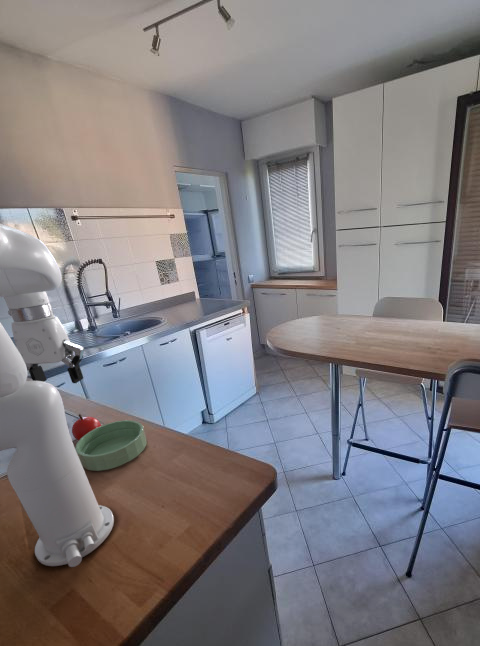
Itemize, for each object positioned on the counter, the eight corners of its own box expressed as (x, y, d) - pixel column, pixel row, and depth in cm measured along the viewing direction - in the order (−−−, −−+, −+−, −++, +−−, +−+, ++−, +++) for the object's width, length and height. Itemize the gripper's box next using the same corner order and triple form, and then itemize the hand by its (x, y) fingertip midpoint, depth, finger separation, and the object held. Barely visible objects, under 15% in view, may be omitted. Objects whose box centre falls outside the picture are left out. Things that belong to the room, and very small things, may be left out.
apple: (108, 437, 92) (96, 412, 88) (81, 450, 88) (67, 425, 84) (101, 428, 97) (90, 404, 93) (75, 440, 93) (62, 415, 89)
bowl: (156, 451, 85) (151, 435, 83) (90, 482, 76) (83, 465, 74) (136, 428, 96) (131, 414, 94) (76, 454, 86) (69, 438, 84)
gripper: (-18, 320, 72) (14, 390, 79) (56, 315, 71) (83, 387, 78) (11, 312, 79) (38, 377, 86) (80, 307, 78) (102, 374, 85)
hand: (59, 382), depth 82 cm, fingers open, 9 cm apart
